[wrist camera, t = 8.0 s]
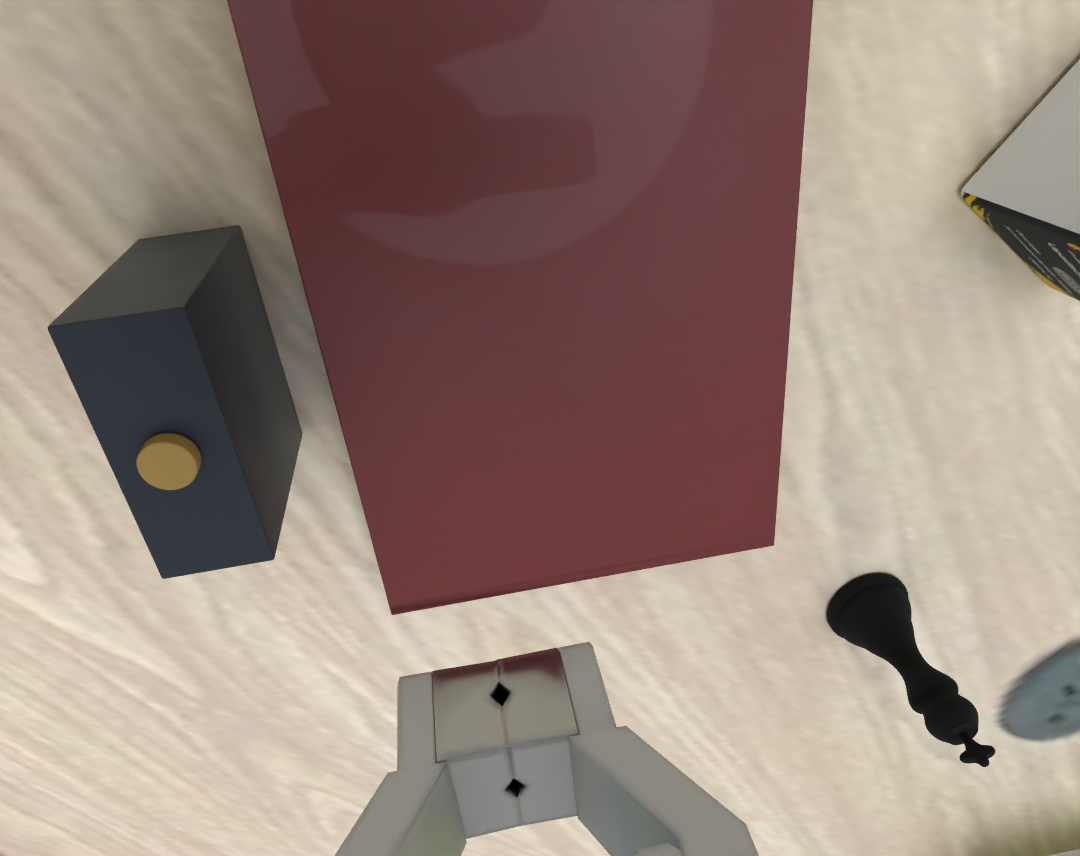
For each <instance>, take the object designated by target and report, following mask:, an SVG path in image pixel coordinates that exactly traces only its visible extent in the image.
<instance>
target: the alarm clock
mask: <svg viewBox="0 0 1080 856" xmlns="http://www.w3.org/2000/svg"><path fill="white" fill-rule="evenodd" d="M48 331H49V333H50V335H51V337H52V340H53V342H54V344H55V346H56V348H57V350H58V353H59V355H60V357H61V359H62V361H63V363H64V366H65V368H66V370H67V372H68V374H69V377H70V379H71V381H72V383H73V385H74V387H75V390H76V392H77V394H78V396H79V398H80V400H81V403H82V405H83V407H84V409H85V411H86V414H87V416H88V418H89V420H90V422H91V424H92V427H93V429H94V431H95V433H96V435H97V438H98V440H99V442H100V444H101V446H102V448H103V451H104V453H105V455H106V457H107V459H108V461H109V464H110V466H111V468H112V470H113V472H114V475H115V477H116V479H117V481H118V483H119V485H120V488H121V490H122V492H123V494H124V496H125V498H126V501H127V503H128V505H129V507H130V509H131V512H132V514H133V516H134V518H135V520H136V522H137V525H138V527H139V529H140V531H141V533H142V535H143V538H144V540H145V542H146V544H147V546H148V549H149V551H150V553H151V555H152V557H153V559H154V562H155V564H156V566H157V568H158V570H159V573H160V575H161V577H162V578H163V579H166V578H171V577H177V576H183V575H189V574H195V573H200V572H206V571H212V570H218V569H223V568H229V567H235V566H241V565H246V564H252V563H258V562H264V561H270V560H273V559H274V558H275V553H276V549H277V544H278V540H279V535H280V531H281V526H282V522H283V518H284V513H285V509H286V504H287V500H288V495H289V491H290V486H291V482H292V477H293V473H294V469H295V464H296V460H297V455H298V451H299V446H300V442H301V437H302V431H301V428H300V425H299V421H298V418H297V415H296V411H295V408H294V405H293V401H292V398H291V395H290V391H289V388H288V385H287V381H286V378H285V375H284V371H283V368H282V365H281V361H280V358H279V355H278V351H277V348H276V345H275V341H274V338H273V335H272V331H271V328H270V325H269V321H268V318H267V314H266V311H265V308H264V304H263V301H262V298H261V294H260V291H259V288H258V284H257V281H256V278H255V274H254V271H253V268H252V264H251V261H250V258H249V254H248V251H247V248H246V244H245V241H244V238H243V234H242V231H241V228H240V226H234V227H226V228H219V229H212V230H204V231H197V232H190V233H183V234H175V235H168V236H161V237H154V238H146V239H139V240H138V241H136V242H135V243H134V244H133V245H132V246H131V247H130V248H129V249H128V250H127V251H126V252H125V253H124V254H123V255H122V256H121V257H120V258H119V259H118V260H117V261H116V262H115V263H114V264H113V265H112V266H110V267H109V268H108V269H107V270H106V271H105V272H104V273H103V274H102V275H101V276H100V277H99V278H98V279H97V280H96V281H95V282H94V283H93V284H92V285H91V286H90V287H89V288H88V289H87V290H86V291H84V292H83V293H82V294H81V295H80V296H79V297H78V298H77V299H76V300H75V301H74V302H73V303H72V304H71V305H70V306H69V307H68V308H67V309H66V310H65V311H64V312H63V313H62V314H61V315H60V316H58V317H57V318H56V319H55V320H54V321H53V322H52V323H51V324H50V325H49V326H48Z"/></svg>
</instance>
